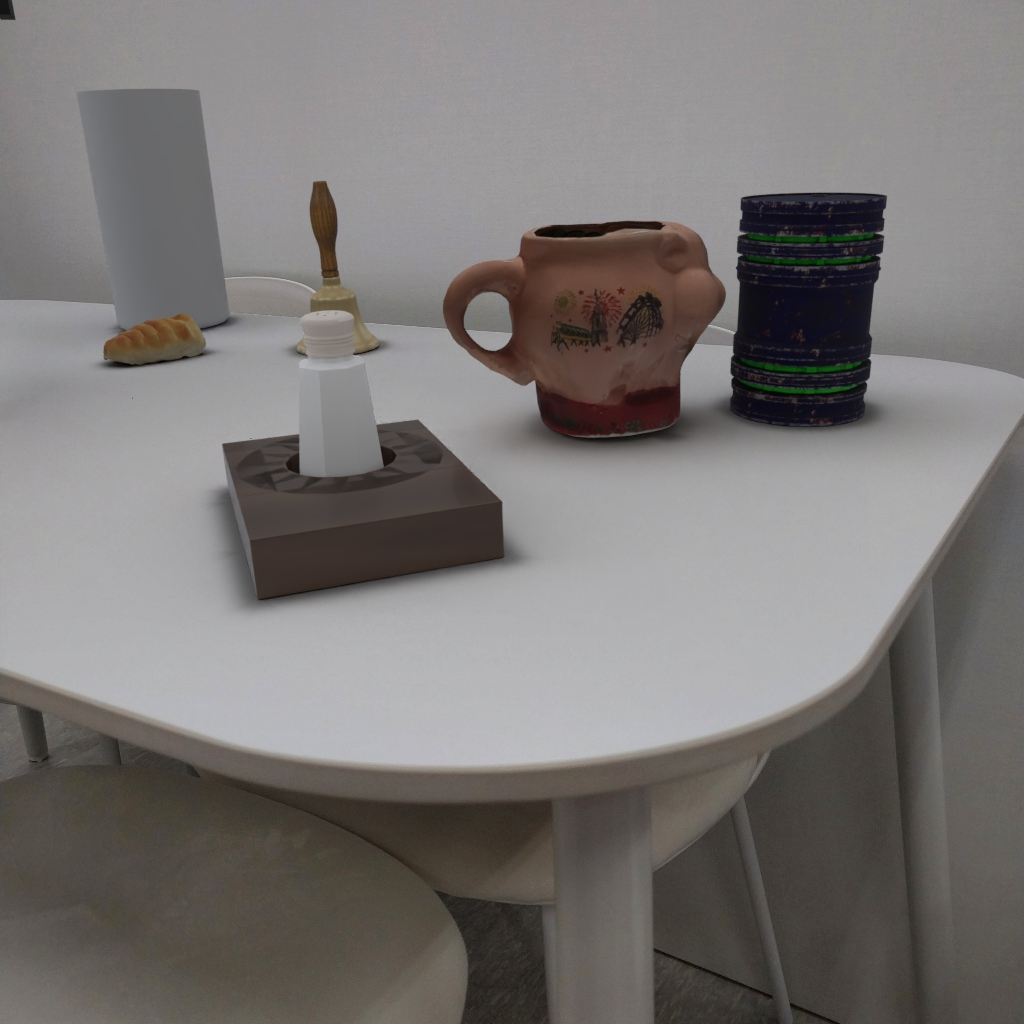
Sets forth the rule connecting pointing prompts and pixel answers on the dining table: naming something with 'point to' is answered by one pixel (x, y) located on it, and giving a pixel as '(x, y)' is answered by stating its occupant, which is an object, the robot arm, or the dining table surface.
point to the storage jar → (805, 306)
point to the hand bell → (333, 270)
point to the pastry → (156, 341)
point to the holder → (358, 513)
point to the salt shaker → (335, 401)
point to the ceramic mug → (597, 321)
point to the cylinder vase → (155, 204)
